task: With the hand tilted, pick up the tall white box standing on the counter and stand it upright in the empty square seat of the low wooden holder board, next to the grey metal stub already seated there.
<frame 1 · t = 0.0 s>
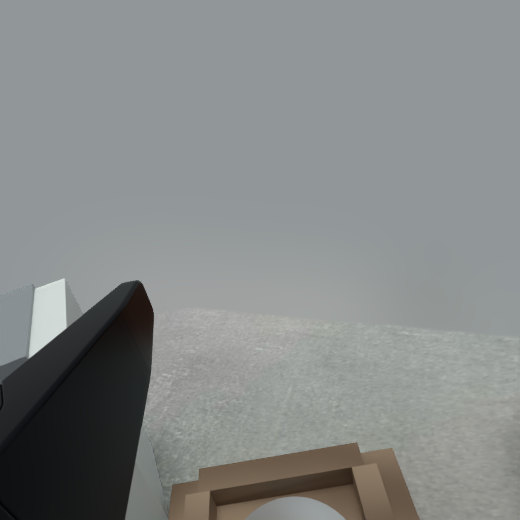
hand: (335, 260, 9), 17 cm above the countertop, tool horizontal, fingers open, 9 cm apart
tall white box: (117, 503, 22), on the countertop
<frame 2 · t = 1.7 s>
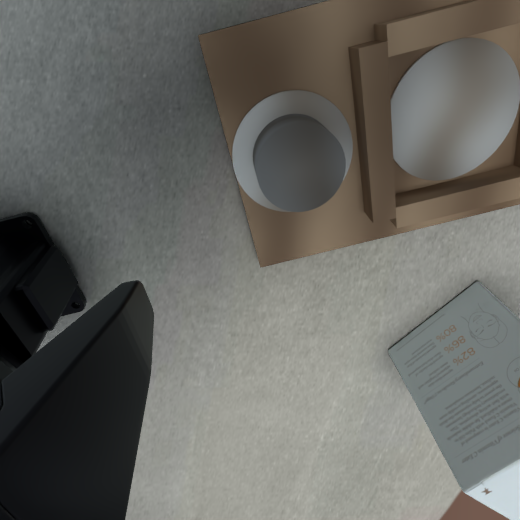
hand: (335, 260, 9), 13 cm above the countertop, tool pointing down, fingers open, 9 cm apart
small box: (449, 331, 29), on the countertop
wooden holder board: (383, 125, 20), on the countertop
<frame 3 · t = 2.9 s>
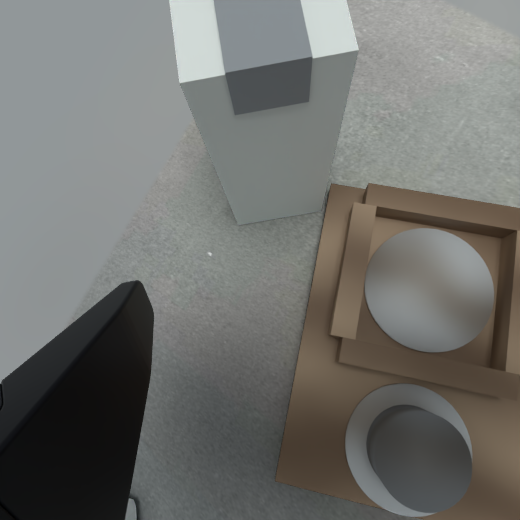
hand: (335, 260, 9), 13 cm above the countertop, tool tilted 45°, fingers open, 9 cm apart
tall white box: (272, 179, 24), on the countertop
wooden holder board: (414, 345, 21), on the countertop
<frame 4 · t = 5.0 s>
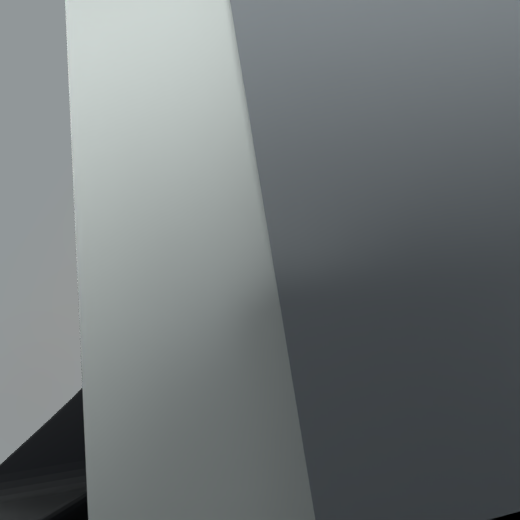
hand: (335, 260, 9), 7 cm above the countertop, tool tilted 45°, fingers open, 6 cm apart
tall white box: (312, 329, 15), on the countertop, touching gripper
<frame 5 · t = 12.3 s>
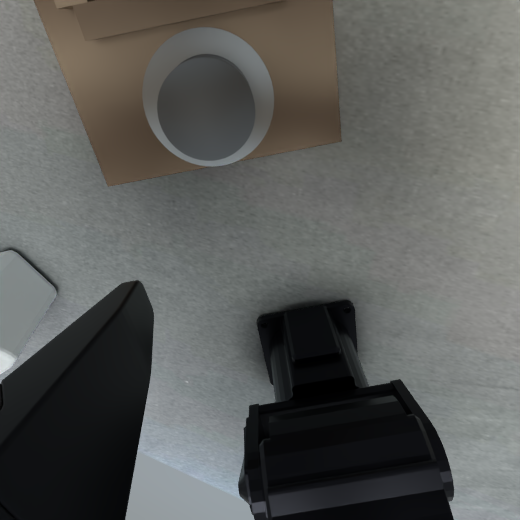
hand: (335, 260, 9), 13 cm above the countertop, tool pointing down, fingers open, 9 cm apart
salt shaker: (16, 280, 24), on the countertop
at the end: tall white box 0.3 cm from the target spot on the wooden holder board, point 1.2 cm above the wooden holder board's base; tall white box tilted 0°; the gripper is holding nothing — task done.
